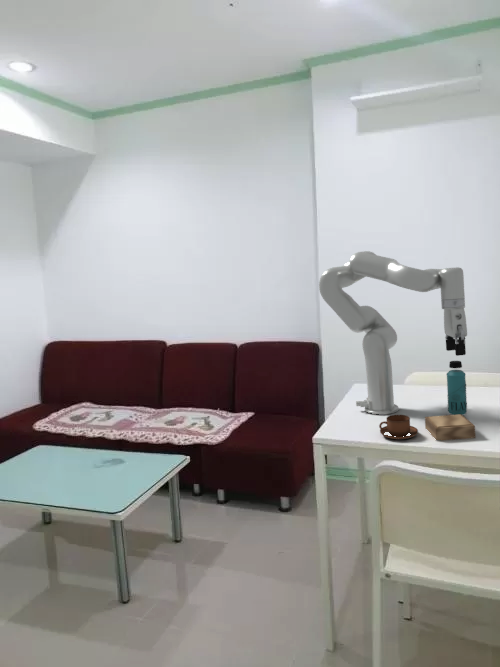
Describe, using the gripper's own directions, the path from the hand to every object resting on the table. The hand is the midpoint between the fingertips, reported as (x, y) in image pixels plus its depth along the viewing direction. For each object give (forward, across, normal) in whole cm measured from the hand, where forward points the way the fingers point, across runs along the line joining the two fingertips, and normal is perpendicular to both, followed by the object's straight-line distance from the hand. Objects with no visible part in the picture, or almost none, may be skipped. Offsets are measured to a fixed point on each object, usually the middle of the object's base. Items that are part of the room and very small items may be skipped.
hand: (455, 352), depth 179 cm
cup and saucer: (+23, -14, +24) cm, 37 cm away
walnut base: (+23, -16, +8) cm, 29 cm away
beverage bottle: (+23, 0, 0) cm, 23 cm away
